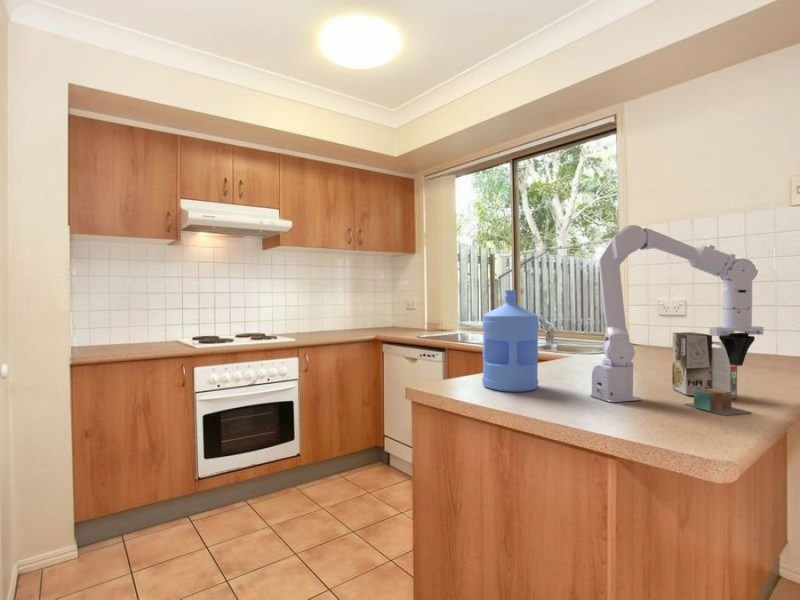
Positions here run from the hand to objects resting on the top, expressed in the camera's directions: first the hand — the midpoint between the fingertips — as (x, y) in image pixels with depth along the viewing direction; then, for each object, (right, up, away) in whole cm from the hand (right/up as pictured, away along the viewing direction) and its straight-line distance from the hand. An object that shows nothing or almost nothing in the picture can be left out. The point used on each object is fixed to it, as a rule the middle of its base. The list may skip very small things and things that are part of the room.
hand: (736, 365), depth 109 cm
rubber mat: (-6, -10, -3) cm, 12 cm away
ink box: (+2, -10, +10) cm, 14 cm away
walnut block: (-11, -8, -4) cm, 14 cm away
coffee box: (-2, -10, +14) cm, 17 cm away
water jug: (-49, -10, +22) cm, 55 cm away
